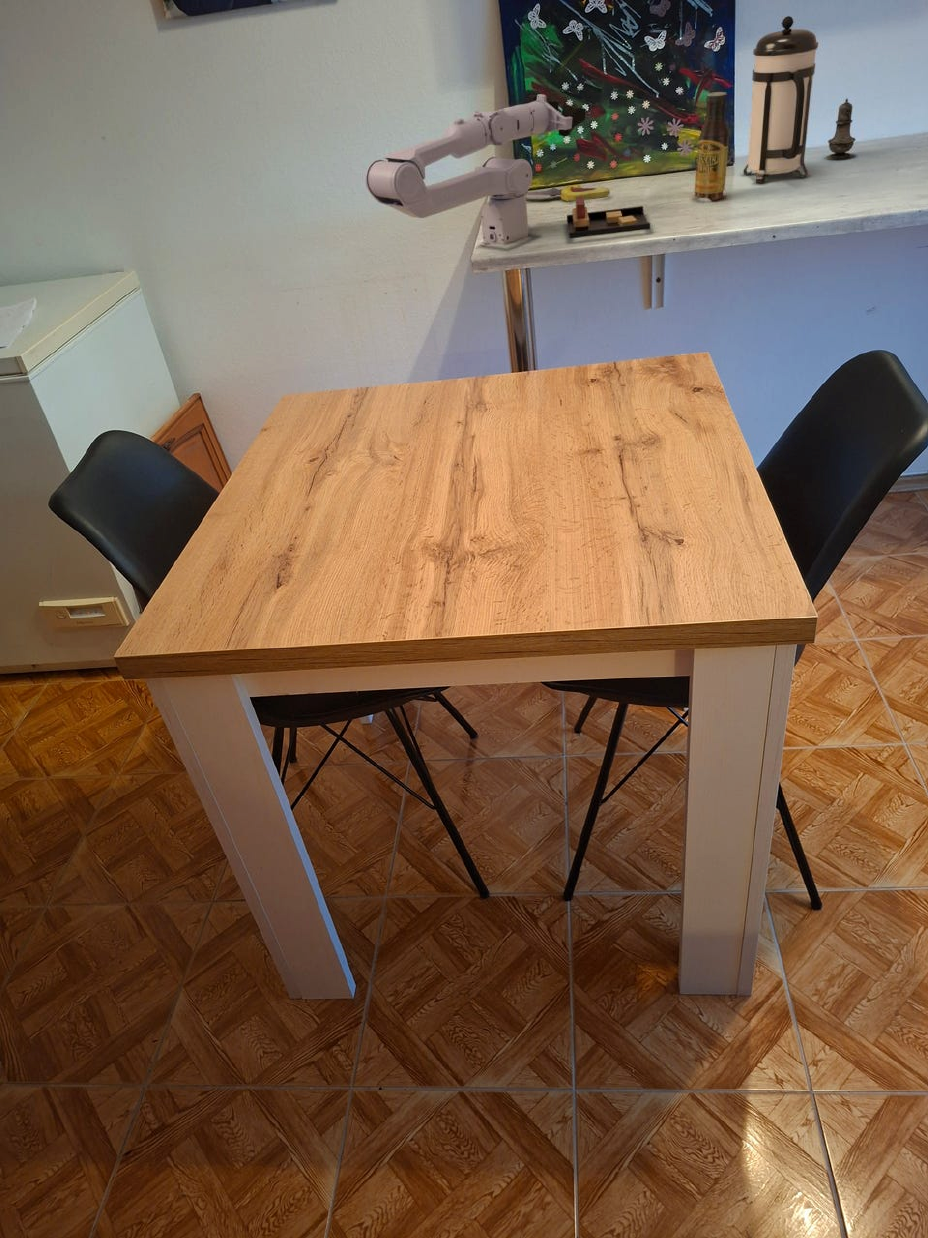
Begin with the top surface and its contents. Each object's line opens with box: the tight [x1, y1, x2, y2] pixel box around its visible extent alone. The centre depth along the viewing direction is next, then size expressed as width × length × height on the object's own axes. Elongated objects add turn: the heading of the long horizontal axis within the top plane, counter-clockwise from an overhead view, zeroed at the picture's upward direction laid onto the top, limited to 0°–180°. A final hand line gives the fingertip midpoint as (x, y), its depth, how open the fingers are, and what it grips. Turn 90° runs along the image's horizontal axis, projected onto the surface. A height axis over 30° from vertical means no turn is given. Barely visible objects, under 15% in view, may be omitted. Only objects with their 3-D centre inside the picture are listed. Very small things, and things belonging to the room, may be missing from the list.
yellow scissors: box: [526, 184, 611, 203], centre depth 205 cm, size 8×3×25 cm
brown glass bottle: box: [694, 91, 730, 202], centre depth 183 cm, size 6×6×20 cm
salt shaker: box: [827, 97, 856, 161], centre depth 199 cm, size 6×6×12 cm
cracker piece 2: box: [618, 216, 637, 226], centre depth 177 cm, size 3×4×1 cm
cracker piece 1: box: [606, 211, 622, 223], centre depth 181 cm, size 3×4×1 cm
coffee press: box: [742, 15, 819, 185], centre depth 187 cm, size 17×16×30 cm
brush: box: [571, 196, 589, 231], centre depth 179 cm, size 3×10×5 cm, turn 177°
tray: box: [566, 205, 651, 239], centre depth 180 cm, size 16×14×2 cm
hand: (570, 110), depth 180 cm, fingers open, 7 cm apart
